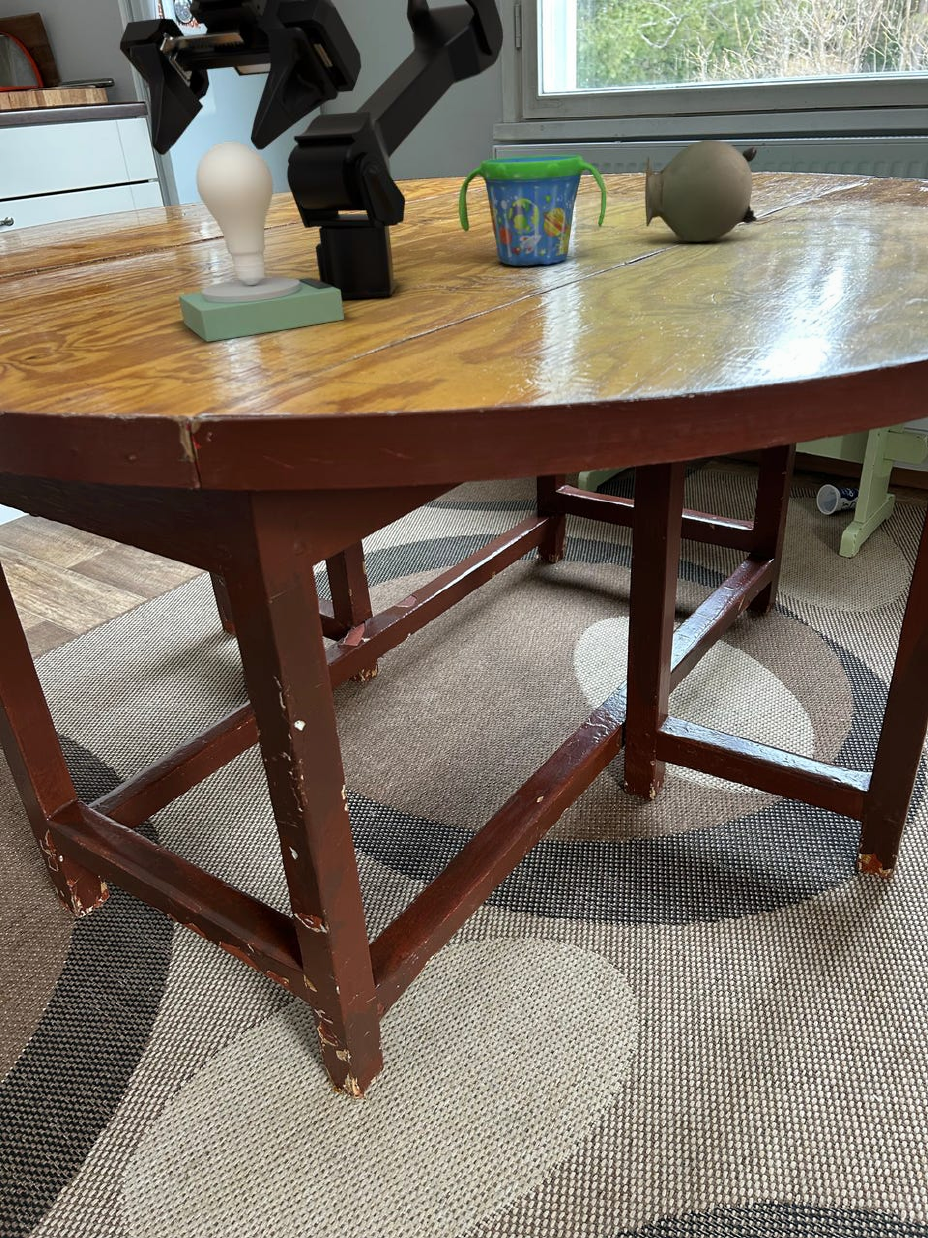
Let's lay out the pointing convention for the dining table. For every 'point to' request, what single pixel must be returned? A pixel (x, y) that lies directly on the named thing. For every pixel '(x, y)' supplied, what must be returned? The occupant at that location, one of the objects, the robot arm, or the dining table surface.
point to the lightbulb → (238, 203)
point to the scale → (260, 307)
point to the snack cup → (531, 205)
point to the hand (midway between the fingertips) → (205, 147)
